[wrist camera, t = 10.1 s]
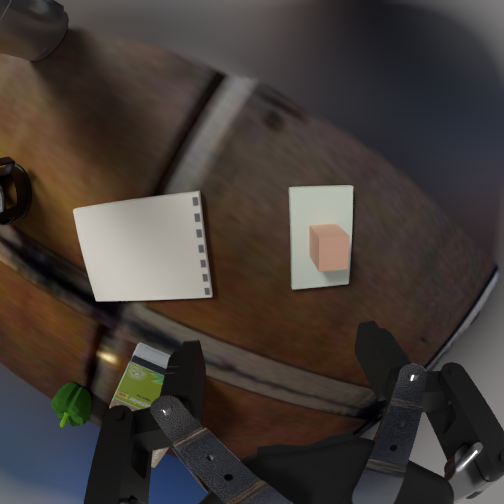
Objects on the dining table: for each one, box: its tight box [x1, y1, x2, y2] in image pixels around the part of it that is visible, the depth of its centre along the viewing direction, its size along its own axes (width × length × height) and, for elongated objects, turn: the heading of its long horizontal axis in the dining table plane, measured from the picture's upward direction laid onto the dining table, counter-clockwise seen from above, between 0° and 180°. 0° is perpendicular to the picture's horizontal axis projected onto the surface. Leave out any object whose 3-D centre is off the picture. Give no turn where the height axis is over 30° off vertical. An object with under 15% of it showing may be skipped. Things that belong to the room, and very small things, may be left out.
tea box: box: [109, 342, 171, 468], centre depth 38 cm, size 15×10×15 cm
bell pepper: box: [51, 382, 91, 428], centre depth 42 cm, size 8×8×10 cm
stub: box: [289, 185, 353, 289], centre depth 34 cm, size 8×13×6 cm, turn 4°
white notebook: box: [73, 191, 213, 301], centre depth 36 cm, size 18×14×1 cm
